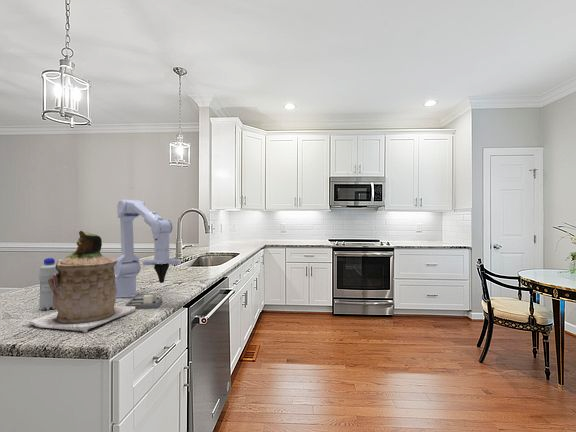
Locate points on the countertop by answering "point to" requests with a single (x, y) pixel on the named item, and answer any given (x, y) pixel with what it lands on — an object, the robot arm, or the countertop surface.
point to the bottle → (46, 284)
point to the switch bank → (139, 304)
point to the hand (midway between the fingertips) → (161, 282)
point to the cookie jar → (83, 289)
